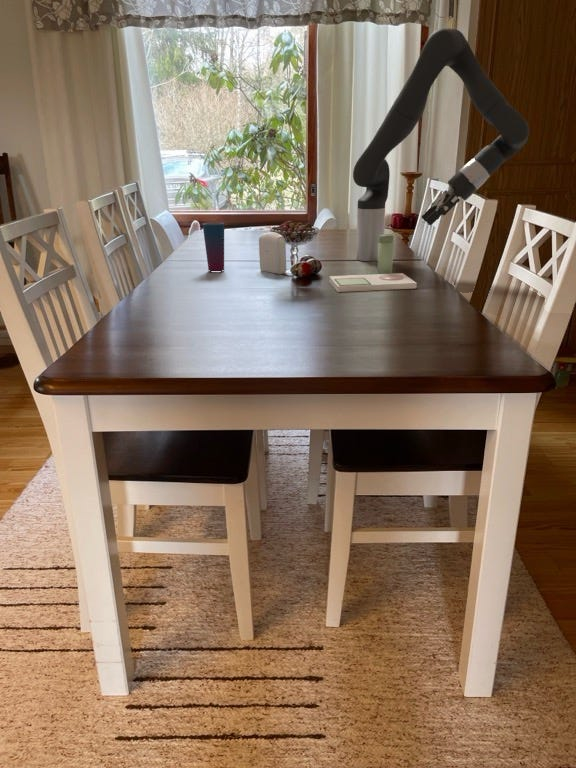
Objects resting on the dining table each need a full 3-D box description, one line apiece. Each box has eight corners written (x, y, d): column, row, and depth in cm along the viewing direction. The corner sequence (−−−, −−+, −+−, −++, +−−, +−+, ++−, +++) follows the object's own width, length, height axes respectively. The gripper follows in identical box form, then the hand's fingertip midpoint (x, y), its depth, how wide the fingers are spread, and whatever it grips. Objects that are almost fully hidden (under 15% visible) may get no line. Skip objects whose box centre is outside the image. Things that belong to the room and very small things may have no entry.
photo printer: (258, 270, 195) (256, 231, 191) (268, 268, 198) (267, 230, 193) (277, 275, 188) (276, 234, 183) (288, 273, 190) (287, 233, 186)
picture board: (329, 281, 178) (329, 275, 177) (402, 278, 180) (402, 272, 179) (337, 291, 165) (337, 285, 164) (416, 288, 167) (416, 282, 166)
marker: (375, 274, 186) (377, 234, 181) (389, 273, 186) (391, 234, 182) (379, 277, 182) (380, 236, 177) (393, 276, 182) (395, 236, 178)
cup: (202, 272, 194) (198, 224, 189) (212, 268, 200) (209, 222, 195) (220, 273, 192) (217, 225, 186) (230, 269, 198) (228, 222, 192)
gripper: (455, 168, 178) (413, 209, 183) (465, 170, 165) (420, 214, 170) (471, 187, 180) (430, 227, 185) (483, 190, 167) (437, 233, 172)
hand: (425, 221), depth 177 cm, fingers open, 8 cm apart
